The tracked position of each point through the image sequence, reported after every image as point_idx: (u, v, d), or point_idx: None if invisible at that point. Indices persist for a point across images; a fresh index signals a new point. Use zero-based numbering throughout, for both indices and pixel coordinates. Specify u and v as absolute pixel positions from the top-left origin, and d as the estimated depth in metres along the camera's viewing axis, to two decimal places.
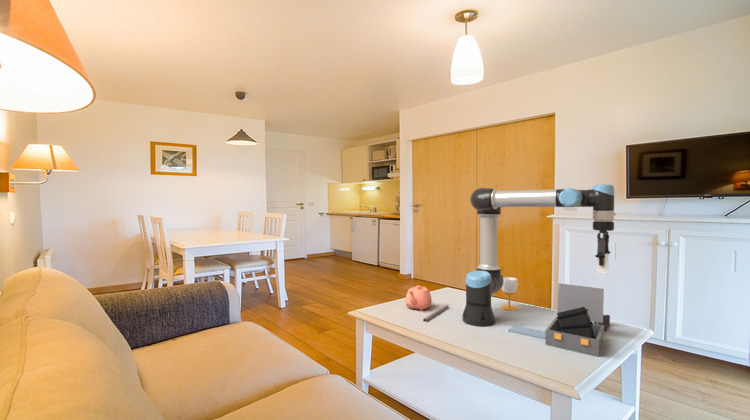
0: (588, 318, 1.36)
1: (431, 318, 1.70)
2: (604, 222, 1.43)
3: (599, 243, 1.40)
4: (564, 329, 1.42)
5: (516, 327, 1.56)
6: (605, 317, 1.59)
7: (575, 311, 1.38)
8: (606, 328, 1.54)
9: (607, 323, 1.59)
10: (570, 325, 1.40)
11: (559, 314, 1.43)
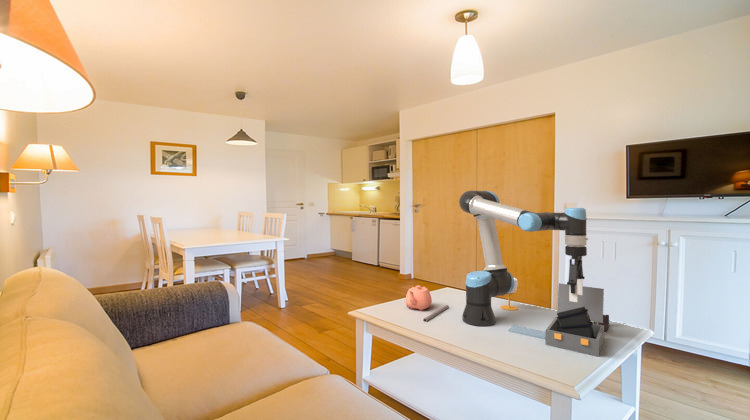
0: (588, 318, 1.36)
1: (431, 318, 1.70)
2: (576, 247, 1.36)
3: (570, 270, 1.34)
4: (564, 329, 1.42)
5: (516, 327, 1.56)
6: (605, 317, 1.59)
7: (575, 311, 1.38)
8: (607, 328, 1.54)
9: (607, 323, 1.59)
10: (570, 325, 1.40)
11: (559, 314, 1.43)
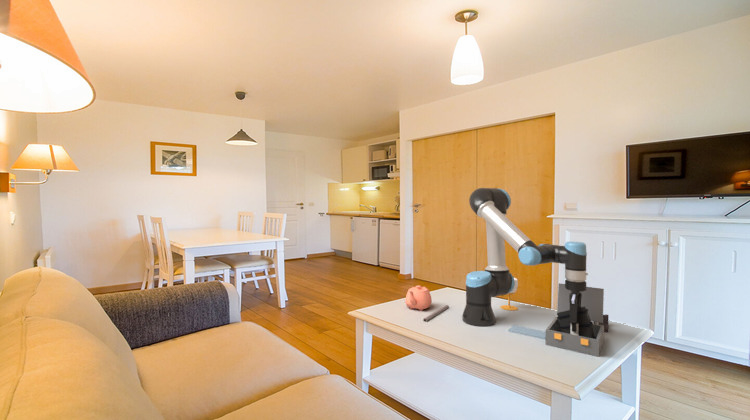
0: (588, 318, 1.36)
1: (431, 318, 1.70)
2: (576, 282, 1.37)
3: (571, 309, 1.36)
4: (564, 329, 1.42)
5: (516, 327, 1.56)
6: (605, 317, 1.59)
7: None
8: None
9: (607, 323, 1.59)
10: None
11: (559, 314, 1.43)
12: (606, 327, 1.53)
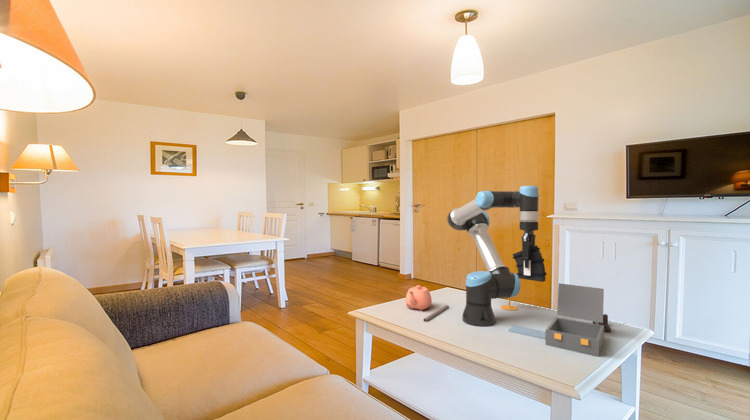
0: (540, 255, 1.47)
1: (431, 318, 1.70)
2: (528, 222, 1.47)
3: (523, 247, 1.46)
4: (519, 267, 1.52)
5: (516, 327, 1.56)
6: (604, 317, 1.60)
7: None
8: None
9: (606, 323, 1.59)
10: None
11: (514, 254, 1.53)
12: (608, 327, 1.53)
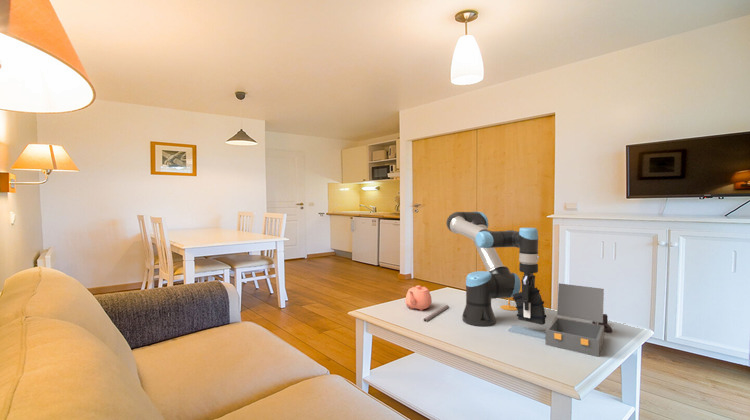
0: (540, 297, 1.47)
1: (431, 318, 1.70)
2: (528, 265, 1.48)
3: (523, 289, 1.47)
4: (519, 309, 1.52)
5: (516, 327, 1.56)
6: (604, 317, 1.60)
7: None
8: None
9: (606, 322, 1.59)
10: None
11: (514, 295, 1.54)
12: (609, 327, 1.53)
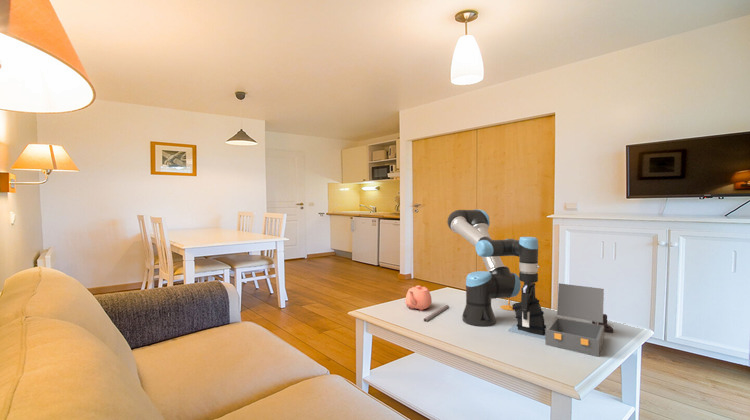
0: (539, 308, 1.48)
1: (431, 318, 1.70)
2: (528, 274, 1.48)
3: (522, 298, 1.46)
4: (518, 319, 1.52)
5: (516, 327, 1.56)
6: (603, 316, 1.60)
7: None
8: None
9: (605, 322, 1.60)
10: None
11: (514, 305, 1.54)
12: (610, 327, 1.53)
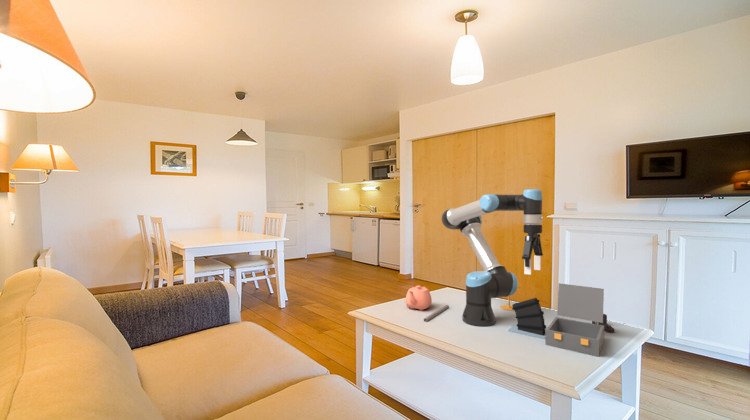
0: (539, 308, 1.48)
1: (431, 318, 1.70)
2: (532, 225, 1.49)
3: (525, 245, 1.47)
4: (518, 319, 1.52)
5: (516, 327, 1.56)
6: (603, 316, 1.60)
7: (528, 302, 1.50)
8: None
9: (605, 322, 1.60)
10: (524, 315, 1.51)
11: (514, 305, 1.54)
12: (611, 327, 1.53)
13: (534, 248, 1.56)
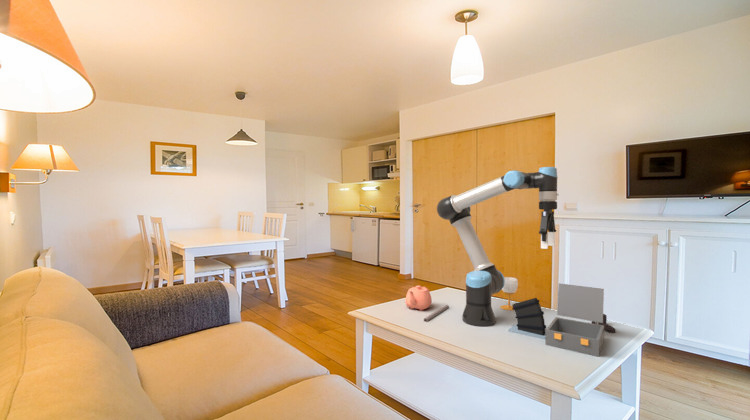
0: (539, 308, 1.48)
1: (431, 318, 1.70)
2: (547, 201, 1.55)
3: (542, 220, 1.52)
4: (518, 319, 1.52)
5: (516, 327, 1.56)
6: (603, 316, 1.60)
7: (528, 302, 1.50)
8: (612, 328, 1.54)
9: (605, 322, 1.60)
10: (524, 315, 1.51)
11: (514, 305, 1.54)
12: (612, 327, 1.53)
13: (548, 224, 1.62)
